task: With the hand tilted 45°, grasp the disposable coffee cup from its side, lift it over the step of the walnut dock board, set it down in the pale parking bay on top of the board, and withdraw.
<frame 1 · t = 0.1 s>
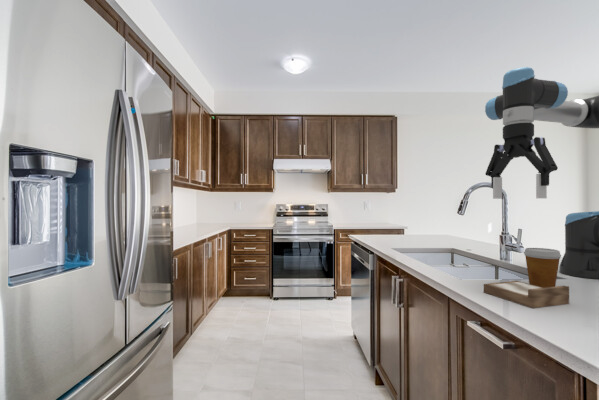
hand: (517, 198, 94), 28 cm above the worktop, tool pointing down, fingers open, 13 cm apart
dock board: (523, 297, 93), on the worktop
disposable coffee cup: (541, 288, 103), on the worktop
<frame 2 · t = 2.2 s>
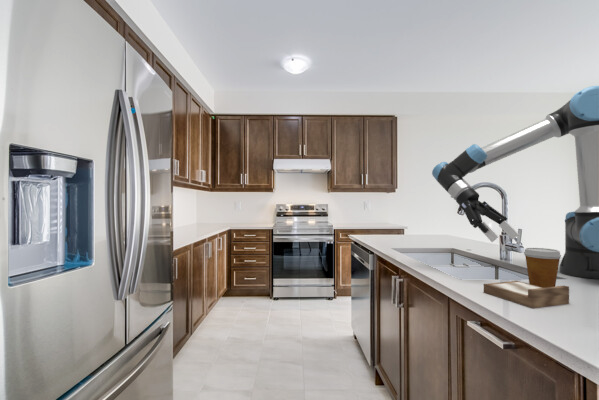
hand: (505, 238, 112), 15 cm above the worktop, tool tilted 45°, fingers open, 13 cm apart
nothing on the worktop moved.
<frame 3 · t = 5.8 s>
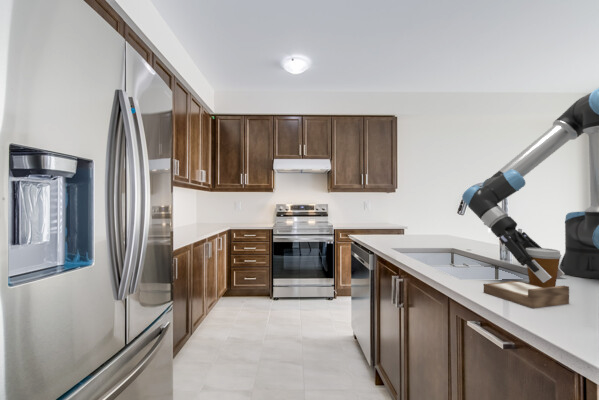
hand: (554, 278, 100), 4 cm above the worktop, tool tilted 45°, fingers closed on disposable coffee cup, 9 cm apart
disposable coffee cup: (542, 288, 103), on the worktop, touching gripper
when the fingers open (8 cm above the worktop, at t = 10.8 s): disposable coffee cup moves 3 cm, resting on dock board.
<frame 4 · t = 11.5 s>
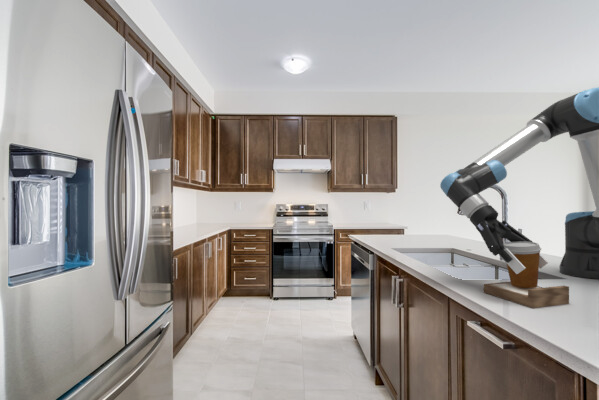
hand: (533, 268, 91), 9 cm above the worktop, tool tilted 45°, fingers open, 13 cm apart
disposable coffee cup: (524, 285, 95), point 3 cm above the worktop, touching dock board, gripper
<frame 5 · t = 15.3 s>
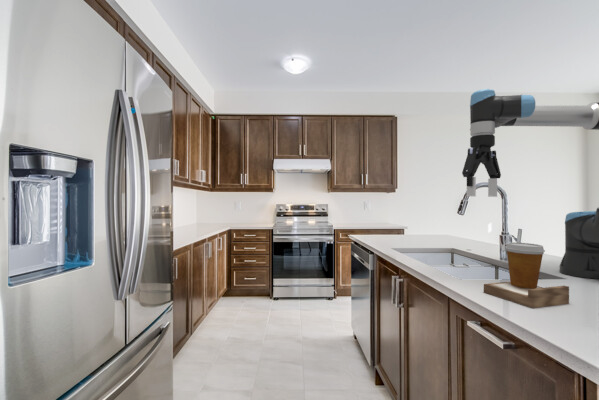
hand: (482, 196, 115), 29 cm above the worktop, tool pointing down, fingers open, 13 cm apart
disposable coffee cup: (523, 286, 95), point 2 cm above the worktop, touching dock board
at the end: disposable coffee cup inside the target area on the dock board (2.9 cm from its centre), point 2.5 cm above the dock board's base; disposable coffee cup tilted 1°; the gripper is holding nothing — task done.
